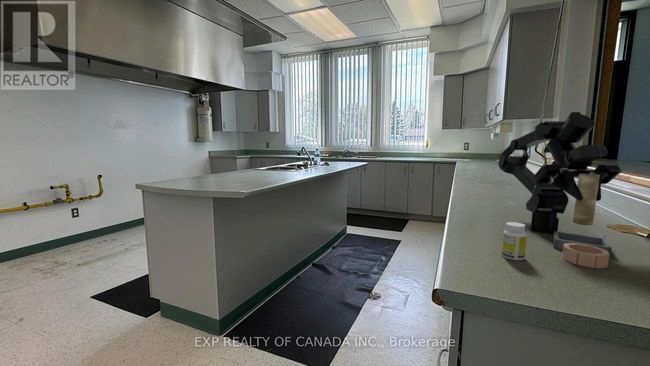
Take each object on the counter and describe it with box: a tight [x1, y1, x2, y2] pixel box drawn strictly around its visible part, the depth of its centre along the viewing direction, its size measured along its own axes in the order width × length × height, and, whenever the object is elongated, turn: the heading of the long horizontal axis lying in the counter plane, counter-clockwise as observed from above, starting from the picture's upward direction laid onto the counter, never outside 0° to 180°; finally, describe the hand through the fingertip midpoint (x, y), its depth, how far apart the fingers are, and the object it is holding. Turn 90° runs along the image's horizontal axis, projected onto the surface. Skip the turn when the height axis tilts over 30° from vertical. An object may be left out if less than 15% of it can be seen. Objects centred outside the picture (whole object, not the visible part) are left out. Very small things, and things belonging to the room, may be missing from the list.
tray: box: [552, 230, 613, 258], centre depth 79 cm, size 11×9×2 cm
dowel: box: [572, 174, 600, 226], centre depth 77 cm, size 4×4×13 cm
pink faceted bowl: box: [561, 243, 610, 269], centre depth 71 cm, size 8×8×3 cm
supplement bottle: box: [501, 221, 527, 261], centre depth 73 cm, size 5×5×8 cm
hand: (590, 199), depth 76 cm, fingers closed on dowel, 4 cm apart
